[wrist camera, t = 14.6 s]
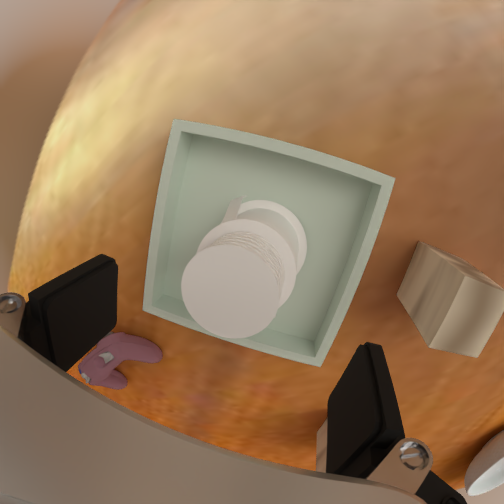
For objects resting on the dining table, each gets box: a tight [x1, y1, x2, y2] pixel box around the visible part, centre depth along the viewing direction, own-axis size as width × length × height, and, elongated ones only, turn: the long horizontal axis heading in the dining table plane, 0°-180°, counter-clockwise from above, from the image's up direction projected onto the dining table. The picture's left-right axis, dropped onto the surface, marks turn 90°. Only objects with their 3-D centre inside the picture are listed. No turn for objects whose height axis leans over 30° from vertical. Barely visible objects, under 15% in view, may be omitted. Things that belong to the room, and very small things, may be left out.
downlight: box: [181, 196, 307, 339], centre depth 18 cm, size 8×7×10 cm
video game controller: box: [78, 332, 162, 389], centre depth 27 cm, size 10×5×7 cm, turn 134°
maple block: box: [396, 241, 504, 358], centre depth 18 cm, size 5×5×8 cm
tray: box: [143, 119, 395, 367], centre depth 22 cm, size 16×16×3 cm
